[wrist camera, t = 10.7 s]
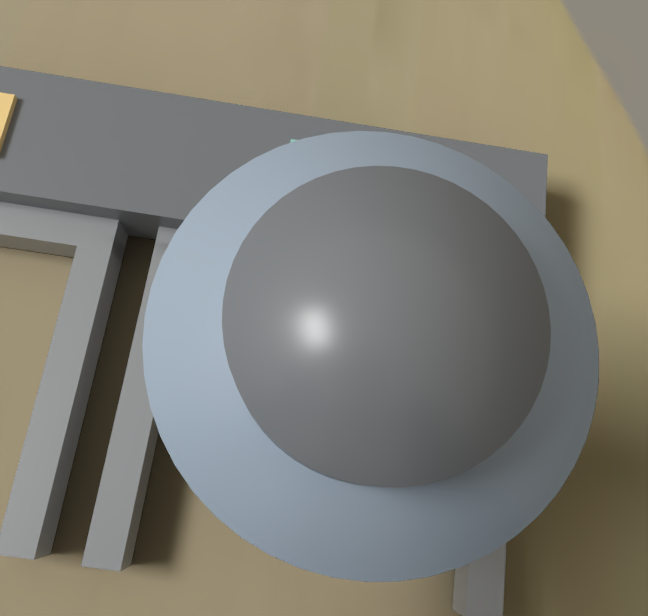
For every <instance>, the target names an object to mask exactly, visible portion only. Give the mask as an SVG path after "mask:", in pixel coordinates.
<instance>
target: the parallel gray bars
mask: <svg viewBox="0 0 648 616" xmlns="http://www.w3.org/2000/svg"><path fill="white" fill-rule="evenodd" d="M349 131H375V132H389V133H395V134H402V135H408V136H413V137H417V138H420V139H424V140H428V141H431V142H435V143H438V144H441V145H443V146H446V147H448V148H451V149H453V150H456V151H458V152H460V153H463V154H465V155H467V156H469V157H470V158H472V159H474V160H476V161H478V162H480V163H481V164H483V165H485V166H487V167H488V168H490V169H491V170H493V171H494V172H495V173H497V174H498V175H500V176H501V177H503V178H504V179H505V180H507V181H508V182H510V183H511V184H512V185H513V186H514V187H515V188H516V189H518V190H519V191H520V192H521V193H522V194H523V195H524V196H525V197H527V198H528V199H529V200H530V201H531V202H532V203H533V204H534V206H535V207H536V208H537V209H538V210H539V211H540V212H541V213H542V214H543V216H544V217H545V213H546V187H547V161H548V155H546V154H540V153H534V152H528V151H522V150H516V149H509V148H503V147H497V146H491V145H485V144H478V143H472V142H466V141H460V140H454V139H448V138H441V137H435V136H429V135H423V134H417V133H411V132H404V131H398V130H392V129H386V128H380V127H373V126H367V125H361V124H355V123H349V122H343V121H336V120H330V119H324V118H318V117H312V116H305V115H299V114H293V113H287V112H281V111H275V110H268V109H262V108H256V107H250V106H244V105H238V104H231V103H225V102H219V101H213V100H207V99H200V98H194V97H188V96H182V95H176V94H170V93H163V92H157V91H151V90H145V89H139V88H132V87H126V86H120V85H114V84H108V83H102V82H95V81H89V80H83V79H77V78H71V77H64V76H58V75H52V74H46V73H40V72H34V71H27V70H21V69H15V68H9V67H3V66H0V246H1V247H7V248H14V249H20V250H27V251H33V252H40V253H47V254H53V255H60V256H66V257H73V258H74V259H73V263H72V266H71V270H70V274H69V278H68V281H67V285H66V289H65V292H64V296H63V300H62V304H61V307H60V311H59V315H58V319H57V322H56V326H55V330H54V334H53V337H52V341H51V345H50V348H49V352H48V356H47V360H46V363H45V367H44V371H43V375H42V378H41V382H40V386H39V390H38V393H37V397H36V401H35V405H34V408H33V412H32V416H31V419H30V423H29V427H28V431H27V434H26V438H25V442H24V446H23V449H22V453H21V457H20V461H19V464H18V468H17V472H16V475H15V479H14V483H13V487H12V490H11V494H10V498H9V502H8V505H7V509H6V513H5V517H4V520H3V524H2V528H1V532H0V555H2V556H10V557H17V558H24V559H32V560H35V559H38V558H41V557H44V556H47V555H50V554H51V551H52V547H53V543H54V538H55V534H56V530H57V526H58V522H59V518H60V514H61V510H62V506H63V502H64V497H65V493H66V489H67V485H68V481H69V477H70V473H71V469H72V465H73V461H74V456H75V452H76V448H77V444H78V440H79V436H80V432H81V428H82V424H83V419H84V415H85V411H86V407H87V403H88V399H89V395H90V391H91V387H92V383H93V378H94V374H95V370H96V366H97V362H98V358H99V354H100V350H101V346H102V342H103V337H104V333H105V329H106V325H107V321H108V317H109V313H110V309H111V305H112V300H113V296H114V292H115V288H116V284H117V280H118V276H119V272H120V268H121V264H122V259H123V255H124V251H125V247H126V243H127V239H128V235H129V236H135V237H142V238H148V239H155V240H156V242H155V246H154V250H153V255H152V259H151V263H150V268H149V272H148V277H147V281H146V285H145V290H144V294H143V298H142V303H141V307H140V311H139V316H138V320H137V324H136V329H135V333H134V338H133V342H132V346H131V351H130V355H129V359H128V364H127V368H126V372H125V377H124V381H123V385H122V390H121V394H120V399H119V403H118V407H117V412H116V416H115V420H114V425H113V429H112V433H111V438H110V442H109V446H108V451H107V455H106V459H105V464H104V468H103V473H102V477H101V481H100V486H99V490H98V494H97V499H96V503H95V507H94V512H93V516H92V520H91V525H90V529H89V534H88V538H87V542H86V547H85V551H84V555H83V560H82V564H81V566H83V567H91V568H98V569H105V570H113V571H122V570H124V569H125V568H127V567H129V566H130V565H131V562H132V558H133V553H134V548H135V543H136V538H137V534H138V529H139V524H140V519H141V515H142V510H143V505H144V500H145V495H146V491H147V486H148V481H149V476H150V471H151V467H152V462H153V457H154V452H155V447H156V443H157V438H158V433H159V431H158V428H157V425H156V422H155V420H154V417H153V414H152V411H151V408H150V404H149V399H148V394H147V388H146V383H145V378H144V366H143V348H142V343H143V331H144V318H145V312H146V307H147V303H148V298H149V294H150V289H151V285H152V283H153V280H154V277H155V274H156V272H157V269H158V266H159V264H160V261H161V258H162V257H163V255H164V253H165V251H166V249H167V247H168V245H169V243H170V241H171V239H172V238H173V236H174V234H175V232H176V231H177V230H178V228H179V227H180V225H181V224H182V223H183V221H184V220H185V218H186V217H187V216H188V214H189V213H190V211H191V210H192V209H193V208H194V207H195V206H196V205H197V204H198V203H199V202H200V200H201V199H202V198H203V197H204V196H205V195H206V194H207V193H208V192H209V191H210V190H211V189H212V188H213V187H215V186H216V185H217V184H218V183H219V182H221V181H222V180H223V179H224V178H225V177H227V176H228V175H229V174H230V173H232V172H233V171H235V170H236V169H238V168H240V167H241V166H243V165H244V164H246V163H247V162H249V161H251V160H252V159H254V158H256V157H258V156H260V155H262V154H264V153H266V152H268V151H271V150H273V149H275V148H277V147H279V146H282V145H285V144H288V143H291V142H294V141H298V140H301V139H304V138H308V137H313V136H318V135H323V134H328V133H336V132H349ZM505 562H506V543H505V544H503V545H502V546H500V547H499V548H497V549H496V550H494V551H493V552H491V553H490V554H488V555H485V556H483V557H481V558H479V559H477V560H475V561H473V562H471V563H469V564H467V565H465V566H462V567H460V568H456V569H455V578H454V592H453V607H452V609H453V610H454V611H456V612H457V613H458V614H460V615H461V616H503V603H504V583H505Z"/></svg>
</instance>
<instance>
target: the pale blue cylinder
mask: <svg viewBox="0 0 648 616" xmlns="http://www.w3.org/2000/svg"><path fill="white" fill-rule="evenodd" d="M142 348H143V366H144V378H145V383H146V388H147V394H148V399H149V404H150V408H151V411H152V414H153V417H154V420H155V422H156V425H157V428H158V431H159V434H160V437H161V439H162V441H163V443H164V445H165V447H166V449H167V451H168V453H169V455H170V457H171V459H172V461H173V463H174V465H175V466H176V468H177V469H178V471H179V472H180V473H181V475H182V476H183V478H184V479H185V481H186V482H187V484H188V485H189V486H190V488H191V489H192V491H193V492H194V493H195V494H196V495H197V497H198V498H199V499H200V500H201V501H202V502H203V503H204V504H205V505H206V506H207V507H208V509H209V510H210V511H211V512H212V513H213V514H214V515H215V516H216V517H217V518H218V519H219V520H221V521H222V522H223V523H224V524H226V525H227V526H228V527H229V528H230V529H232V530H233V531H234V532H235V533H236V534H238V535H239V536H240V537H241V538H243V539H244V540H246V541H248V542H249V543H251V544H253V545H254V546H256V547H257V548H259V549H261V550H262V551H264V552H266V553H267V554H269V555H271V556H273V557H275V558H278V559H280V560H282V561H284V562H287V563H289V564H291V565H294V566H296V567H298V568H300V569H304V570H308V571H311V572H315V573H318V574H322V575H326V576H329V577H333V578H340V579H348V580H356V581H363V582H392V581H405V580H411V579H417V578H424V577H430V576H434V575H437V574H440V573H443V572H447V571H450V570H453V569H456V568H460V567H462V566H465V565H467V564H469V563H471V562H473V561H475V560H477V559H479V558H481V557H483V556H485V555H488V554H490V553H491V552H493V551H494V550H496V549H497V548H499V547H500V546H502V545H503V544H505V543H506V542H508V541H509V540H511V539H512V538H514V537H515V536H517V535H518V534H519V533H520V532H521V531H522V530H523V529H525V528H526V527H527V526H528V525H529V524H530V523H531V522H532V521H533V520H534V519H536V518H537V517H538V516H539V515H540V514H541V513H542V511H543V510H544V509H545V508H546V507H547V505H548V504H549V503H550V502H551V501H552V499H553V498H554V497H555V496H556V494H557V493H558V492H559V491H560V489H561V487H562V486H563V484H564V483H565V481H566V479H567V478H568V476H569V474H570V473H571V471H572V470H573V468H574V466H575V464H576V462H577V460H578V457H579V455H580V453H581V450H582V448H583V446H584V444H585V441H586V439H587V436H588V432H589V429H590V425H591V422H592V418H593V414H594V411H595V405H596V398H597V390H598V383H599V348H598V340H597V332H596V323H595V319H594V316H593V312H592V308H591V304H590V300H589V296H588V293H587V291H586V288H585V285H584V283H583V280H582V278H581V275H580V273H579V270H578V268H577V266H576V264H575V262H574V261H573V259H572V257H571V255H570V253H569V251H568V249H567V248H566V246H565V244H564V243H563V241H562V240H561V238H560V237H559V235H558V234H557V233H556V231H555V230H554V228H553V227H552V225H551V224H550V223H549V221H548V220H547V219H546V218H545V217H544V216H543V214H542V213H541V212H540V211H539V210H538V209H537V208H536V207H535V206H534V204H533V203H532V202H531V201H530V200H529V199H528V198H527V197H525V196H524V195H523V194H522V193H521V192H520V191H519V190H518V189H516V188H515V187H514V186H513V185H512V184H511V183H510V182H508V181H507V180H505V179H504V178H503V177H501V176H500V175H498V174H497V173H495V172H494V171H493V170H491V169H490V168H488V167H487V166H485V165H483V164H481V163H480V162H478V161H476V160H474V159H472V158H470V157H469V156H467V155H465V154H463V153H460V152H458V151H456V150H453V149H451V148H448V147H446V146H443V145H441V144H438V143H435V142H431V141H428V140H424V139H420V138H417V137H413V136H408V135H402V134H395V133H389V132H375V131H349V132H336V133H328V134H323V135H318V136H313V137H308V138H304V139H301V140H298V141H294V142H291V143H288V144H285V145H282V146H279V147H277V148H275V149H273V150H271V151H268V152H266V153H264V154H262V155H260V156H258V157H256V158H254V159H252V160H251V161H249V162H247V163H246V164H244V165H243V166H241V167H240V168H238V169H236V170H235V171H233V172H232V173H230V174H229V175H228V176H227V177H225V178H224V179H223V180H222V181H221V182H219V183H218V184H217V185H216V186H215V187H213V188H212V189H211V190H210V191H209V192H208V193H207V194H206V195H205V196H204V197H203V198H202V199H201V200H200V202H199V203H198V204H197V205H196V206H195V207H194V208H193V209H192V210H191V211H190V213H189V214H188V216H187V217H186V218H185V220H184V221H183V223H182V224H181V225H180V227H179V228H178V230H177V231H176V232H175V234H174V236H173V238H172V239H171V241H170V243H169V245H168V247H167V249H166V251H165V253H164V255H163V257H162V258H161V261H160V264H159V266H158V269H157V272H156V274H155V277H154V280H153V283H152V285H151V289H150V294H149V298H148V303H147V307H146V312H145V318H144V331H143V343H142Z"/></svg>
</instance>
